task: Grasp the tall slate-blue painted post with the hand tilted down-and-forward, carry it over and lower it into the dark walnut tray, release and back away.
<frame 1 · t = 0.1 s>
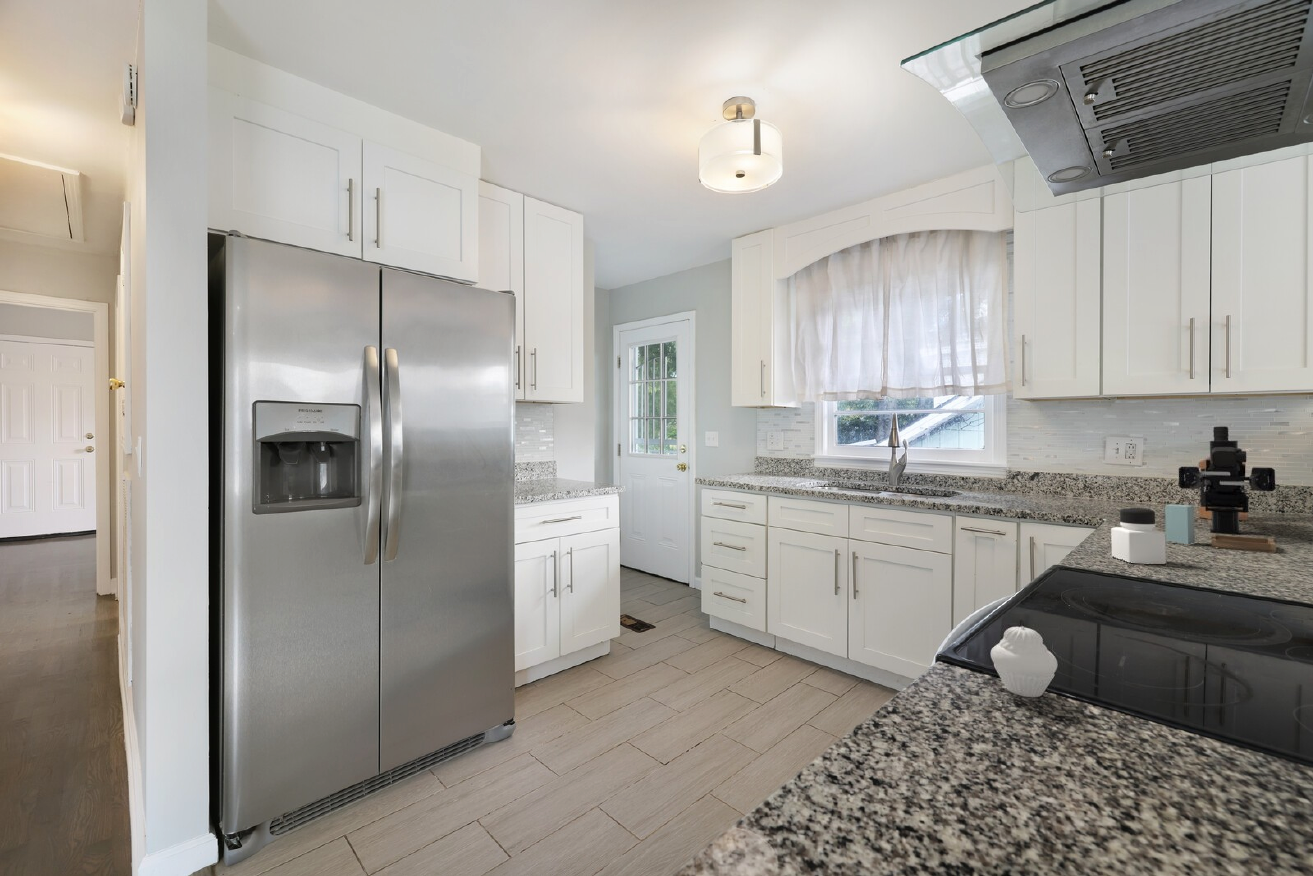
hand: (1225, 480, 152), 17 cm above the worktop, tool horizontal, fingers open, 9 cm apart
medicine bottle: (1138, 562, 130), on the worktop
cork coaster: (1231, 539, 158), on the worktop
muffin: (1023, 693, 62), on the worktop
post: (1180, 543, 152), on the worktop
tray: (1242, 547, 146), on the worktop
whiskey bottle: (1223, 520, 199), on the worktop
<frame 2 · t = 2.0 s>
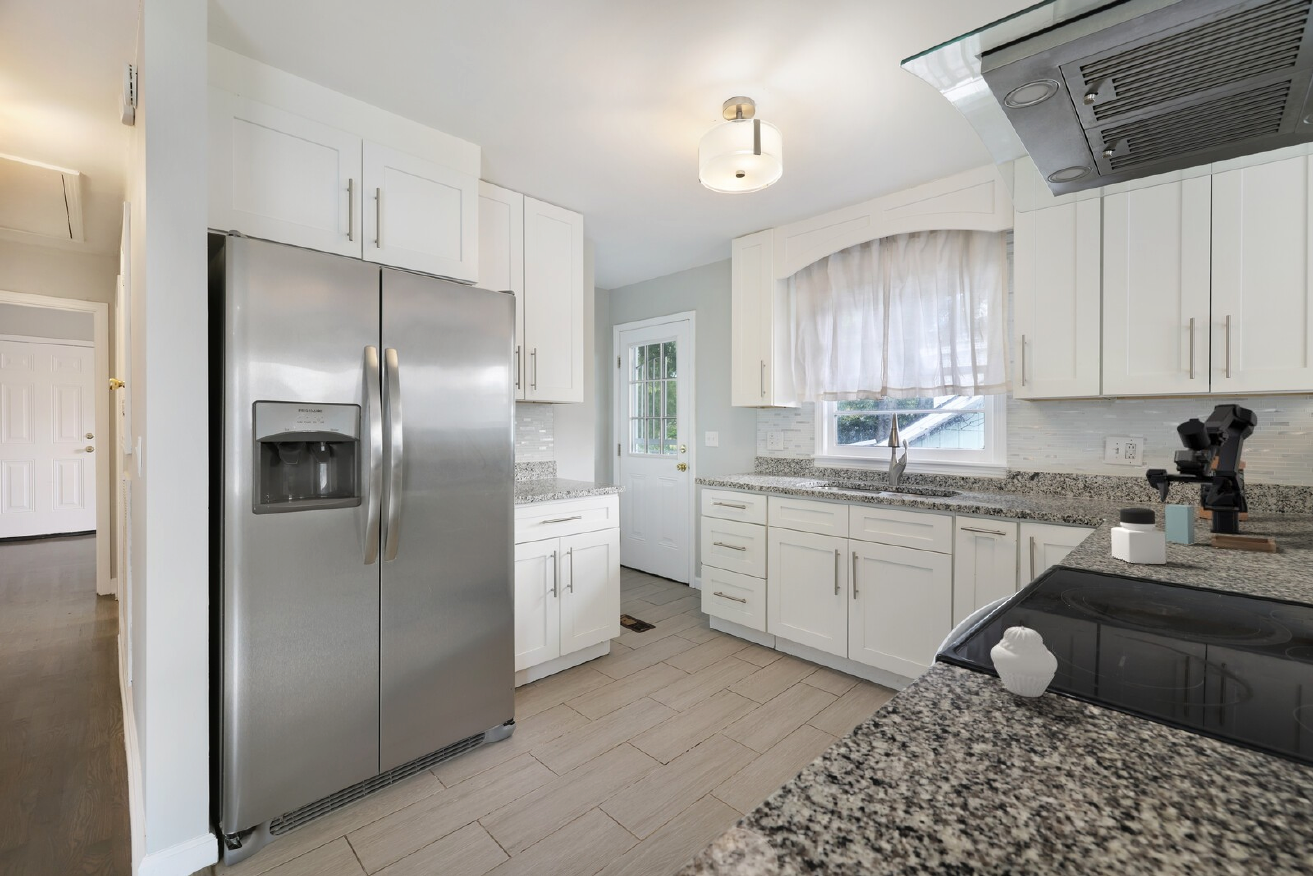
hand: (1184, 502, 154), 11 cm above the worktop, tool tilted 45°, fingers open, 9 cm apart
nothing on the worktop moved.
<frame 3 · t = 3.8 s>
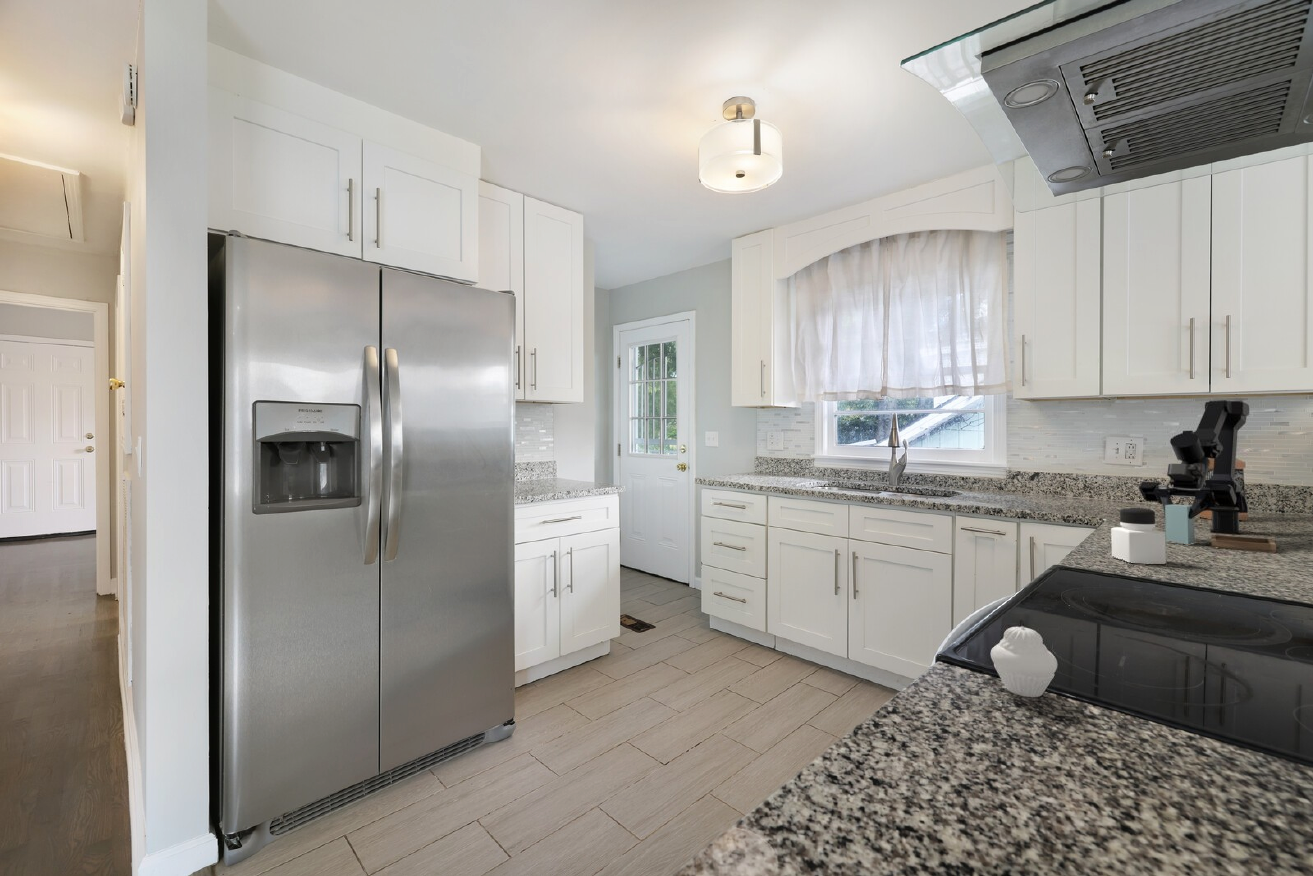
hand: (1177, 516, 152), 7 cm above the worktop, tool tilted 45°, fingers closed on post, 4 cm apart
post: (1180, 543, 152), on the worktop, touching gripper
everything else where it was.
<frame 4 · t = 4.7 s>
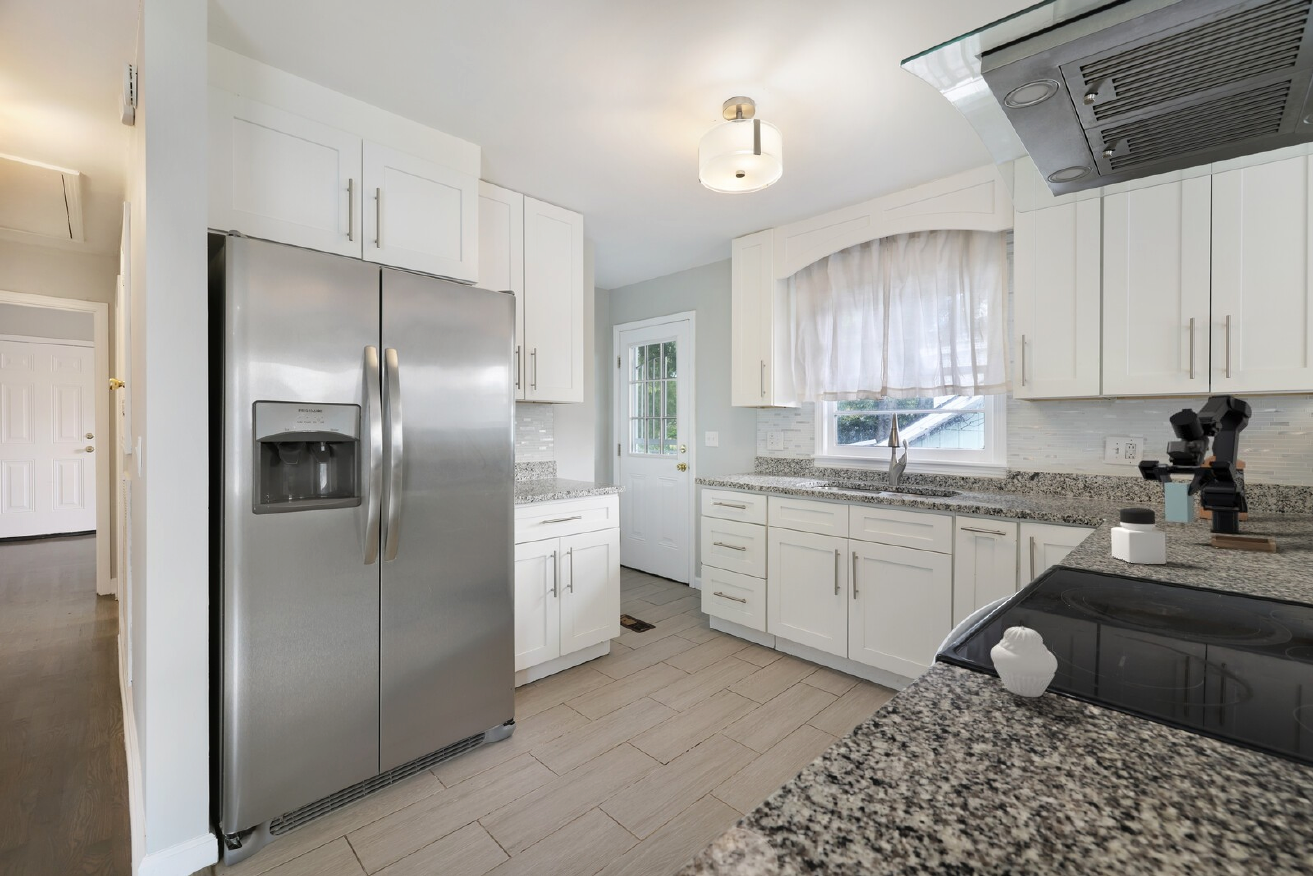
hand: (1176, 494, 152), 13 cm above the worktop, tool tilted 45°, fingers closed on post, 4 cm apart
post: (1179, 521, 152), point 6 cm above the worktop, touching gripper
everything else where it was.
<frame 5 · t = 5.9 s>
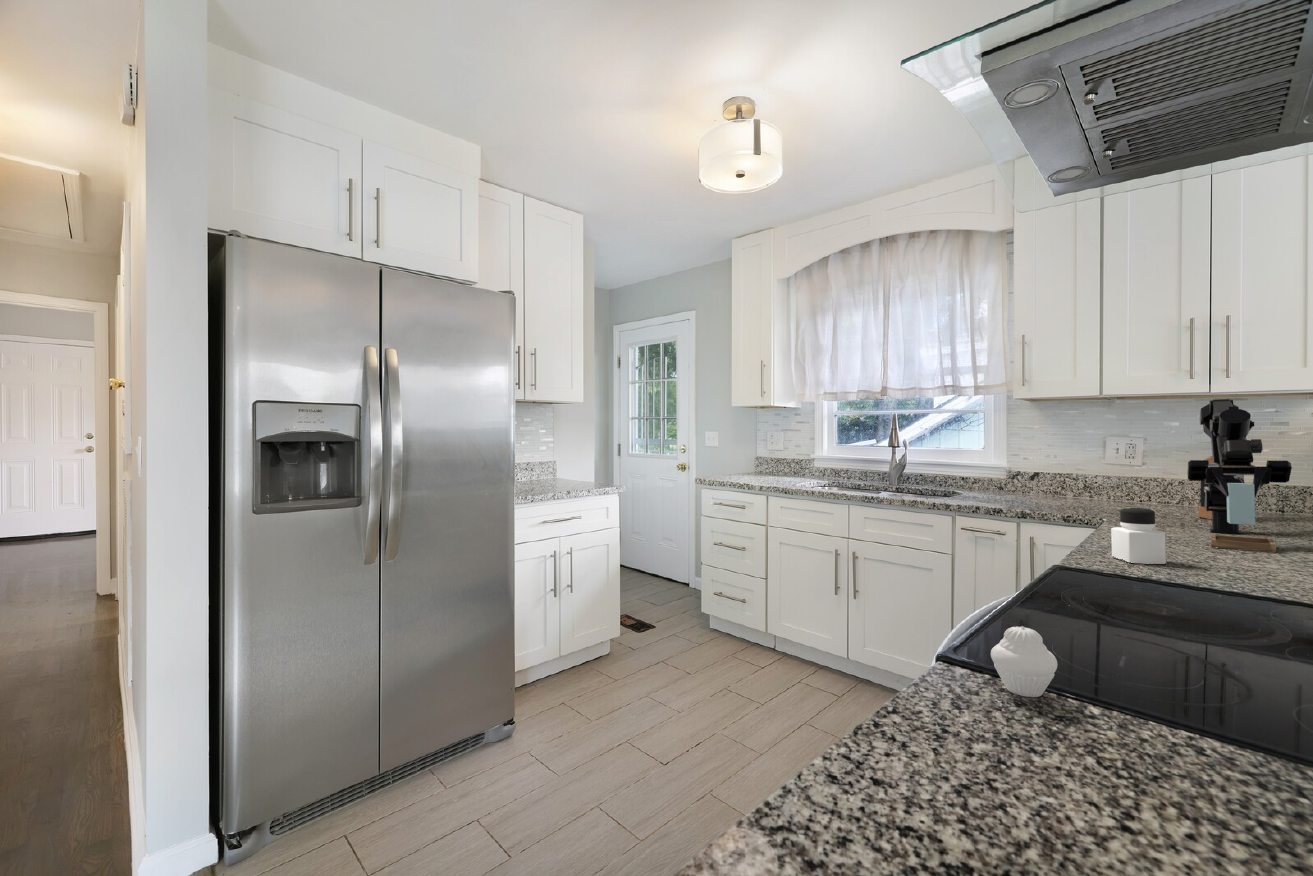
hand: (1241, 495, 145), 13 cm above the worktop, tool tilted 45°, fingers closed on post, 4 cm apart
post: (1240, 523, 146), point 6 cm above the worktop, touching gripper
everything else where it was.
when the fingers open (8 cm above the worktop, at t = 7.2 s): post stays where it is, resting on tray.
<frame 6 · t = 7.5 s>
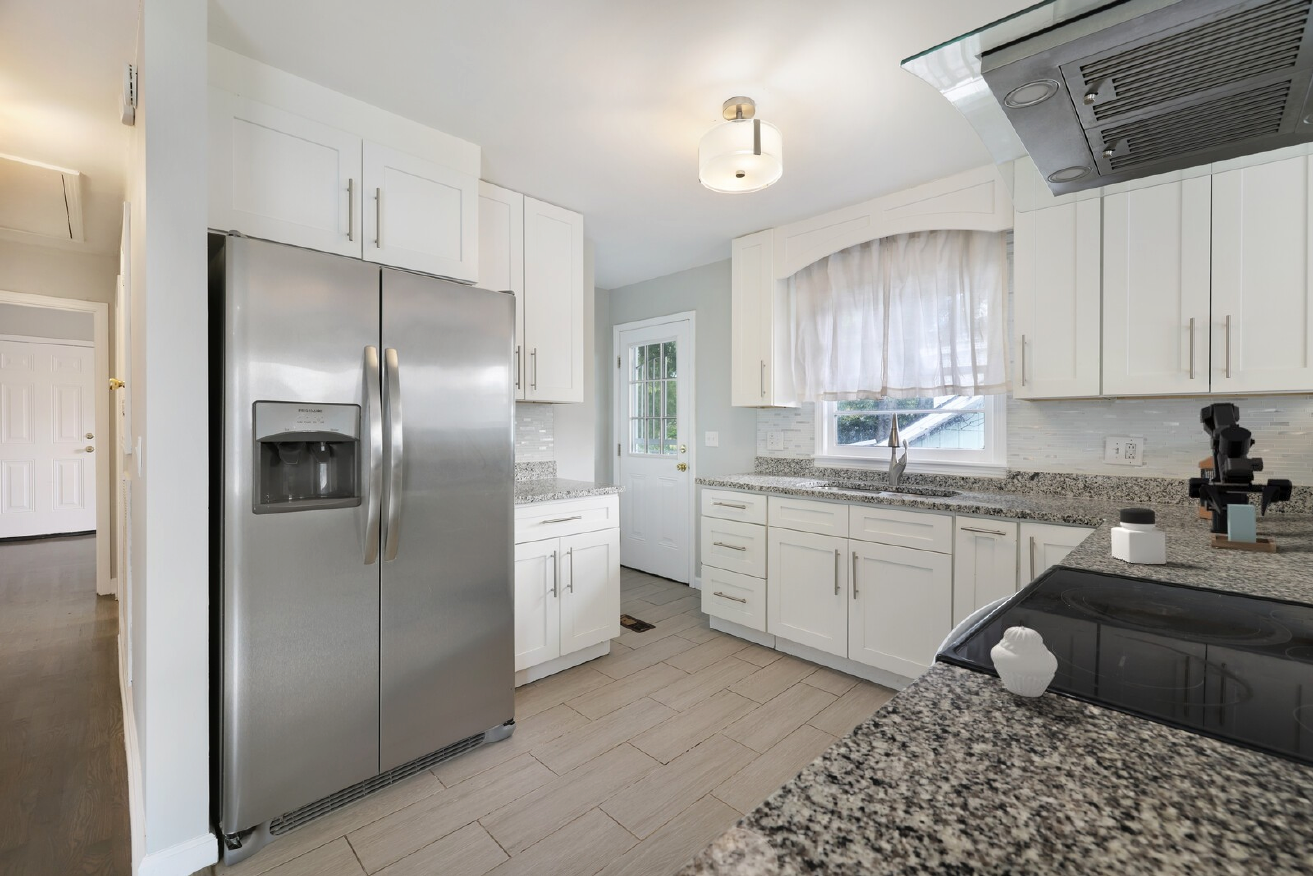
hand: (1241, 513, 145), 9 cm above the worktop, tool tilted 45°, fingers open, 7 cm apart
post: (1241, 545, 146), point 1 cm above the worktop, touching tray
everything else where it was.
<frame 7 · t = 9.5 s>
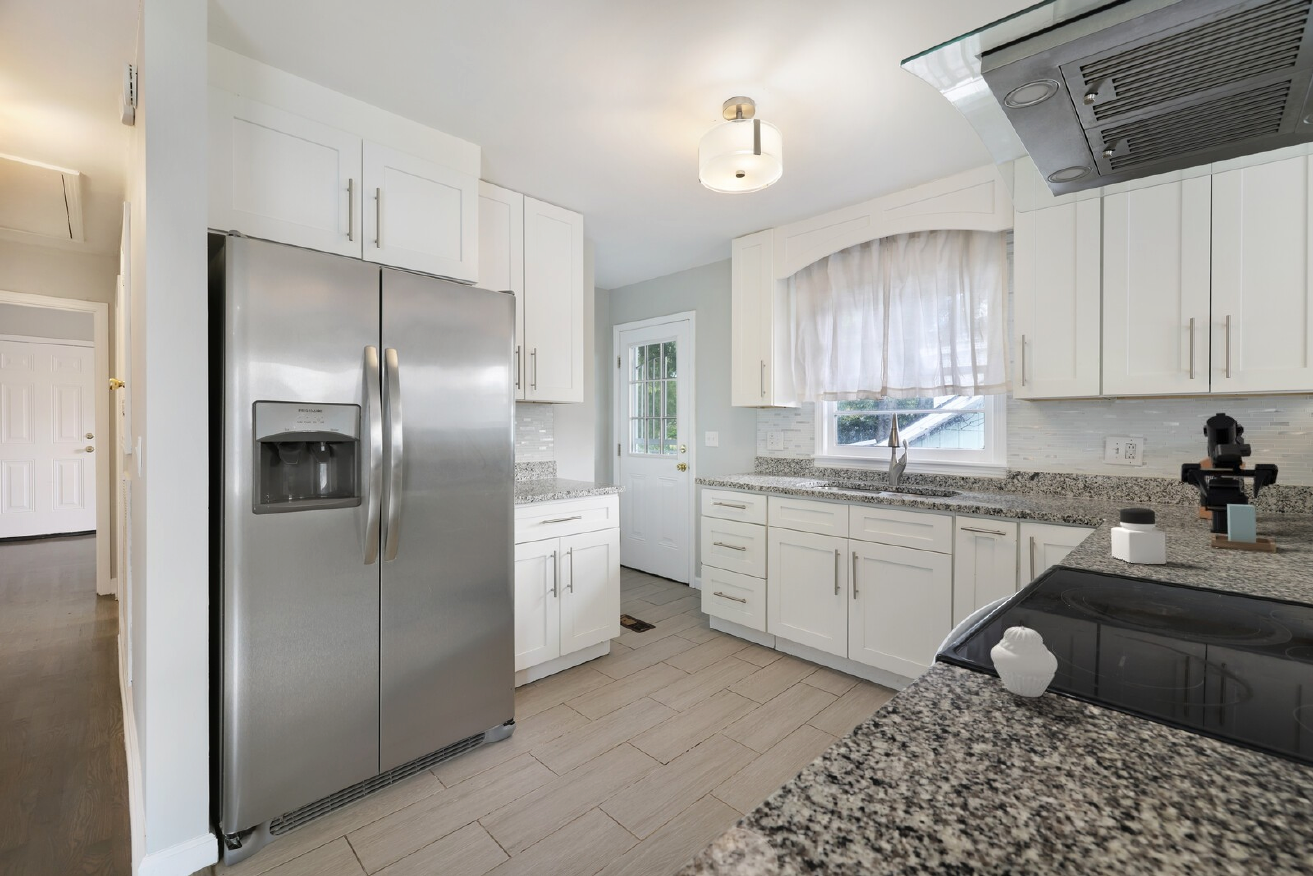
hand: (1231, 496, 154), 12 cm above the worktop, tool tilted 45°, fingers open, 9 cm apart
nothing on the worktop moved.
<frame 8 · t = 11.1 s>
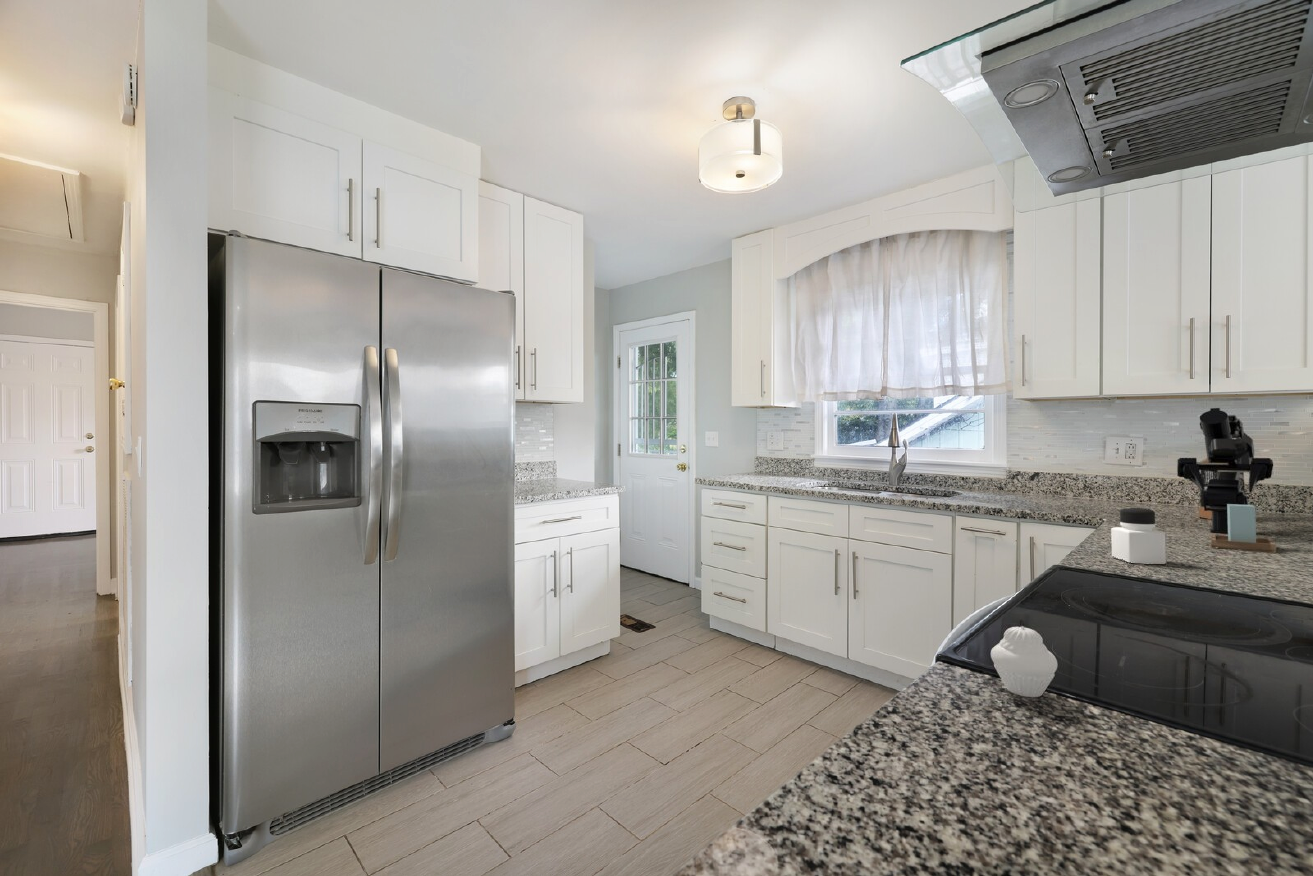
hand: (1226, 490, 155), 14 cm above the worktop, tool tilted 45°, fingers open, 9 cm apart
nothing on the worktop moved.
at the end: post inside the target area on the tray (0.0 cm from its centre), point 0.6 cm above the tray's base; post tilted 0°; the gripper is holding nothing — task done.
